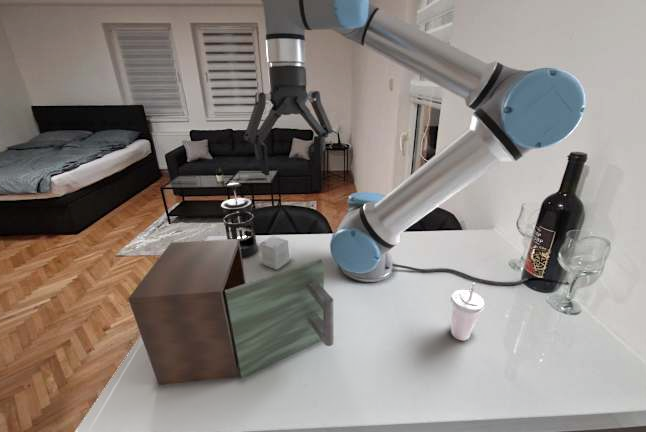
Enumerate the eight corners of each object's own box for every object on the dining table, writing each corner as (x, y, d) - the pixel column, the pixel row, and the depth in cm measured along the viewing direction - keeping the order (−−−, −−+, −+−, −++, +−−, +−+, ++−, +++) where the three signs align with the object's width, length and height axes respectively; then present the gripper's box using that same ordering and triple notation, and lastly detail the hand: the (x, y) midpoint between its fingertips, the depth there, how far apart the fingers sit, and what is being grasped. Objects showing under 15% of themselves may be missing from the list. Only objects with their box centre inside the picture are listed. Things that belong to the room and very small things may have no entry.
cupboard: (250, 311, 73) (239, 238, 65) (237, 377, 57) (220, 291, 49) (189, 316, 72) (170, 242, 64) (158, 385, 56) (127, 298, 47)
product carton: (290, 261, 94) (288, 240, 91) (276, 270, 89) (274, 248, 86) (275, 255, 97) (273, 235, 94) (261, 264, 92) (259, 243, 89)
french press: (251, 260, 94) (241, 190, 85) (222, 258, 95) (209, 189, 86) (263, 242, 105) (256, 178, 95) (237, 240, 106) (227, 177, 96)
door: (342, 361, 60) (343, 280, 52) (253, 409, 51) (237, 320, 43) (322, 335, 66) (320, 258, 58) (240, 374, 57) (224, 290, 49)
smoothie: (461, 349, 63) (473, 295, 57) (438, 329, 68) (447, 277, 62) (482, 338, 65) (496, 285, 60) (458, 319, 71) (469, 269, 65)
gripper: (328, 67, 70) (330, 158, 78) (218, 65, 57) (234, 174, 66) (348, 66, 64) (347, 164, 73) (230, 63, 51) (245, 182, 60)
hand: (293, 169), depth 69 cm, fingers open, 13 cm apart
